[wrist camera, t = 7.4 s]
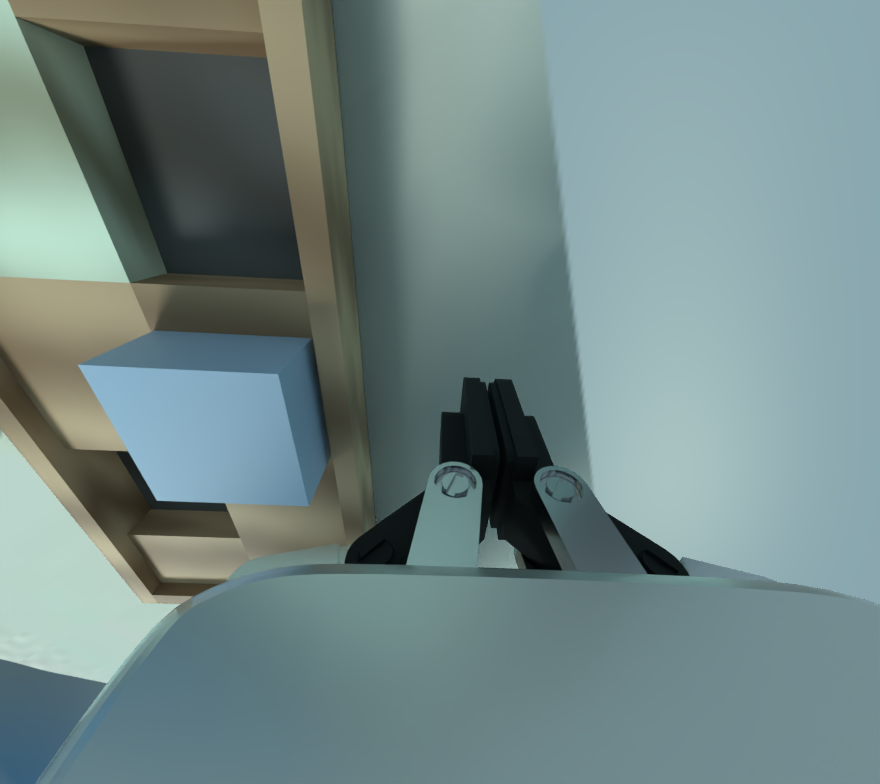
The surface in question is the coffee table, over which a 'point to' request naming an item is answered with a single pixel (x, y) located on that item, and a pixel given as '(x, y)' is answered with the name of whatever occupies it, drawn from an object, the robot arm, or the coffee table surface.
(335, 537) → the box
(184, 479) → the block
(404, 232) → the coffee table surface
